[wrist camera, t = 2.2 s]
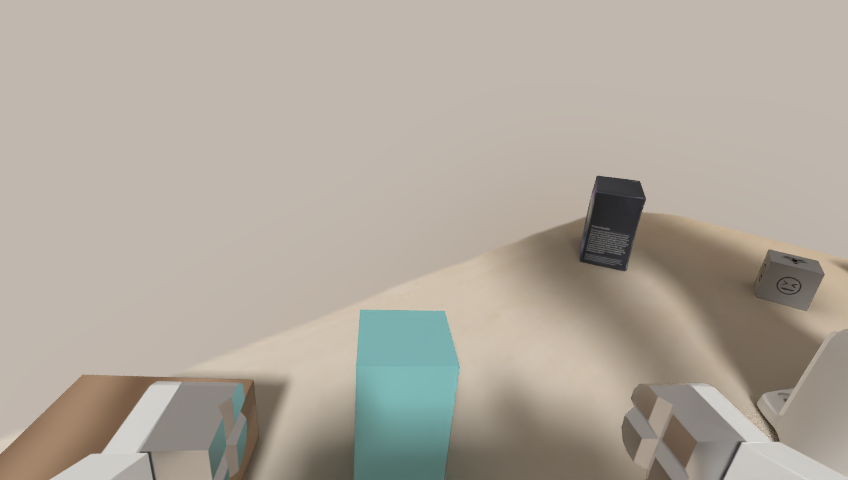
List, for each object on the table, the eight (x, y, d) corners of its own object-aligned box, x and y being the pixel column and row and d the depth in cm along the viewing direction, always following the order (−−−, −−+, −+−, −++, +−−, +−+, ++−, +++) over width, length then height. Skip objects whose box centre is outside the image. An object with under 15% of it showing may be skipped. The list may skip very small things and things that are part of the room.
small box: (580, 237, 68) (595, 173, 64) (623, 246, 66) (642, 180, 62) (576, 261, 59) (594, 188, 55) (627, 272, 57) (649, 197, 53)
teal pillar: (430, 435, 29) (444, 311, 25) (440, 505, 24) (459, 365, 21) (356, 437, 28) (360, 309, 25) (353, 509, 24) (356, 366, 20)
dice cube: (801, 296, 54) (818, 261, 53) (806, 311, 51) (824, 274, 49) (754, 283, 57) (768, 249, 55) (755, 297, 53) (771, 261, 51)
